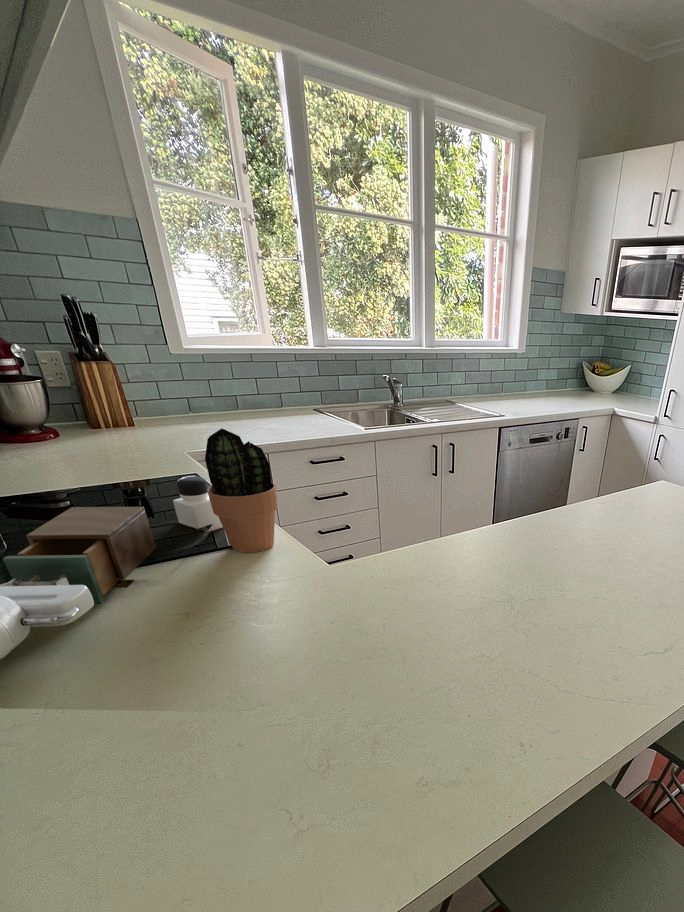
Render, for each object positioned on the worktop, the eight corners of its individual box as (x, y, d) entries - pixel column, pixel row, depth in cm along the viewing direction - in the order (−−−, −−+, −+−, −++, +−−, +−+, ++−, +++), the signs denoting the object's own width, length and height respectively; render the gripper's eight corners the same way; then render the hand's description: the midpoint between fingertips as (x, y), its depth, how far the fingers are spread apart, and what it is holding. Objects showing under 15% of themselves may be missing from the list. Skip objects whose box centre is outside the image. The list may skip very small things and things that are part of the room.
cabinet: (126, 587, 103) (108, 534, 97) (49, 589, 101) (25, 535, 95) (158, 555, 116) (144, 506, 110) (90, 556, 114) (71, 507, 109)
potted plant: (274, 558, 116) (252, 436, 103) (210, 556, 116) (180, 434, 103) (292, 535, 128) (274, 423, 115) (233, 533, 128) (209, 420, 114)
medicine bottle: (225, 527, 131) (214, 477, 125) (199, 535, 126) (186, 484, 119) (206, 521, 134) (194, 472, 128) (180, 529, 129) (166, 478, 122)
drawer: (88, 616, 91) (69, 569, 87) (8, 619, 90) (-16, 570, 85) (136, 569, 107) (122, 527, 103) (68, 570, 106) (51, 527, 101)
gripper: (58, 603, 77) (103, 563, 89) (-103, 607, 75) (-34, 565, 86) (74, 640, 81) (115, 597, 92) (-79, 645, 78) (-17, 600, 90)
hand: (42, 582), depth 89 cm, fingers closed on drawer, 5 cm apart
